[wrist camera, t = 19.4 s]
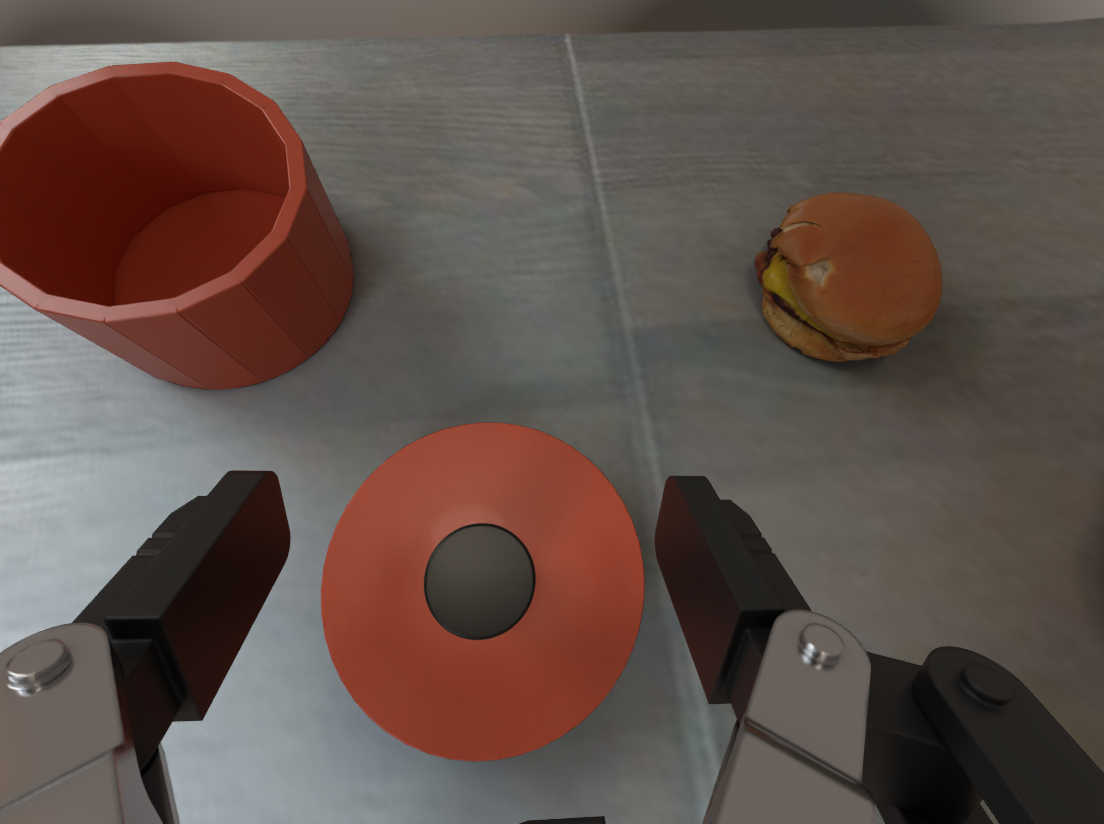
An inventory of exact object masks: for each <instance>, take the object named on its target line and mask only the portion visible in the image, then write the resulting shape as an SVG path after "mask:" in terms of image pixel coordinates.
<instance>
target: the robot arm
mask: <svg viewBox="0 0 1104 824" xmlns="http://www.w3.org/2000/svg"><path fill="white" fill-rule="evenodd" d="M761 535H762V534H761V532H760V531H759V529H758V528H757V526H756V525H755V523H754V522H753V520H752V518H751V517H750V515H748V514H747V513H746V512H745V511H743V510H742V509H741V508H740V507H738V506H737V505H736V504H735V503H733V502H732V501H731V500H720V499H719V497H718V495H717V494H716V492H715V490H714V489H713V487H712V485H711V484H710V482H709V480H708V479H707V478H706V477H705V476H669V477H668V478H667V480H666V483H665V488H664V492H663V497H662V502H661V507H660V512H659V517H658V521H657V526H656V532H655V551H656V557H657V561H658V564H659V567H660V569H661V572H662V575H663V578H664V581H665V583H666V586H667V589H668V592H669V594H670V597H671V600H672V603H673V606H674V608H675V611H676V614H677V617H678V619H679V622H680V625H681V628H682V631H683V633H684V636H685V639H686V642H687V644H688V647H689V650H690V653H691V656H692V658H693V661H694V664H695V667H696V669H697V672H698V675H699V678H700V681H701V683H702V686H703V689H704V692H705V694H706V697H707V700H708V703H709V704H728V703H731V705H732V707H733V710H734V712H735V715H736V717H737V719H736V722H735V725H734V727H733V730H732V733H731V736H730V740H729V743H728V746H727V749H726V752H725V755H724V758H723V761H722V764H721V767H720V770H719V774H718V777H717V780H716V783H715V786H714V789H713V792H712V795H711V798H710V801H709V804H708V808H707V811H706V814H705V817H704V820H703V823H702V824H875V804H876V806H877V808H878V810H879V812H880V814H881V816H882V818H883V820H884V822H885V824H993V823H992V821H991V820H990V818H989V817H988V815H987V814H986V812H985V811H984V809H983V808H982V806H981V805H980V802H981V801H982V800H984V801H985V803H986V804H987V806H988V807H989V809H990V810H991V812H992V813H993V815H994V816H995V818H996V819H997V821H998V822H999V824H1104V773H1103V772H1102V771H1101V770H1100V768H1099V767H1098V766H1097V765H1096V764H1095V763H1094V762H1093V761H1092V760H1091V758H1090V757H1089V756H1088V755H1087V754H1086V753H1085V752H1084V751H1083V749H1082V748H1081V747H1080V746H1079V745H1078V744H1077V743H1076V742H1075V740H1074V739H1073V738H1072V737H1071V736H1070V735H1069V734H1068V733H1067V732H1066V730H1065V729H1064V728H1063V727H1062V726H1061V725H1060V724H1059V723H1058V721H1057V720H1056V719H1055V718H1054V717H1053V716H1052V715H1051V714H1050V713H1049V711H1048V710H1047V709H1046V708H1045V707H1044V706H1043V705H1042V704H1041V702H1040V701H1039V700H1038V699H1037V698H1036V697H1035V696H1034V695H1033V694H1032V692H1031V691H1030V690H1029V689H1028V688H1027V687H1026V686H1025V685H1024V684H1023V683H1022V682H1021V681H1020V680H1019V679H1018V678H1016V677H1015V676H1014V675H1013V674H1012V673H1010V672H1009V671H1008V670H1006V669H1005V668H1004V667H1002V666H1000V665H999V664H997V663H996V662H994V661H992V660H990V659H988V658H986V657H985V656H982V655H980V654H978V653H975V652H973V651H970V650H967V649H963V648H958V647H950V646H947V647H939V648H936V649H934V650H933V651H931V653H930V654H929V655H928V657H927V658H926V660H925V662H924V663H923V665H922V666H920V665H916V664H912V663H909V662H905V661H901V660H897V659H893V658H889V657H885V656H881V655H877V654H873V653H870V652H867V651H866V650H865V649H864V647H863V646H862V644H861V643H860V642H859V641H858V639H857V638H856V637H855V636H854V635H853V634H852V633H851V632H850V631H849V630H847V629H846V628H845V627H843V626H842V625H841V624H839V623H837V622H836V621H834V620H832V619H830V618H828V617H826V616H824V615H821V614H819V613H815V612H812V611H811V609H810V608H809V606H808V605H807V603H806V601H805V600H804V598H803V597H802V595H801V594H800V592H799V591H798V589H797V588H796V586H795V585H794V583H793V581H792V580H791V578H790V577H789V575H788V574H787V572H786V571H785V569H784V568H783V566H782V565H781V563H780V561H779V560H778V558H777V557H776V555H775V554H774V553H772V551H771V550H772V549H771V548H770V546H769V545H768V543H767V542H766V540H765V538H762V536H761ZM289 549H290V529H289V524H288V520H287V515H286V511H285V506H284V502H283V497H282V493H281V488H280V484H279V480H278V477H277V475H276V474H275V473H274V472H273V471H229V472H228V473H226V474H225V475H224V476H223V478H222V479H221V480H220V481H219V482H218V484H217V485H216V486H215V487H214V488H213V489H212V491H211V492H210V493H209V494H208V495H207V496H197V497H196V498H194V499H193V500H191V501H190V502H188V503H186V504H185V505H183V506H182V507H180V508H179V509H177V510H175V511H174V512H172V513H171V514H170V515H169V516H168V517H167V518H166V519H165V520H164V522H163V523H162V524H161V525H160V526H159V527H158V528H157V529H156V530H155V532H154V533H153V534H152V538H148V539H147V540H146V542H145V543H144V544H143V545H142V546H141V547H140V548H139V549H138V550H137V554H136V556H132V557H131V558H130V559H129V560H128V561H127V563H126V564H125V565H124V566H123V567H122V568H121V569H120V570H119V571H118V572H117V574H116V575H115V576H114V577H113V578H112V579H111V580H110V581H109V582H108V584H107V585H106V586H105V587H104V588H103V589H102V590H101V591H100V592H99V593H98V595H97V596H96V597H95V598H94V599H93V600H92V601H91V602H90V603H89V605H88V606H87V607H86V608H85V609H84V610H83V611H82V612H81V613H80V614H79V616H78V617H77V618H76V619H75V620H74V621H73V622H72V623H70V624H64V625H59V626H56V627H52V628H49V629H46V630H43V631H40V632H38V633H35V634H33V635H31V636H28V637H26V638H24V639H23V640H21V641H19V642H17V643H15V644H13V645H12V646H10V647H9V648H7V649H5V650H4V651H3V652H1V653H0V824H180V821H179V816H178V812H177V807H176V803H175V798H174V793H173V789H172V784H171V780H170V775H169V770H168V766H167V761H166V757H165V752H164V749H163V747H162V744H161V740H162V739H163V737H164V735H165V734H166V732H167V730H168V728H169V727H170V725H171V723H172V722H176V721H202V720H203V718H204V716H205V715H206V713H207V711H208V709H209V707H210V705H211V703H212V701H213V699H214V697H215V696H216V694H217V692H218V690H219V688H220V686H221V684H222V682H223V680H224V678H225V677H226V675H227V673H228V671H229V669H230V667H231V665H232V663H233V661H234V659H235V658H236V656H237V654H238V652H239V650H240V648H241V646H242V644H243V642H244V640H245V639H246V637H247V635H248V633H249V631H250V629H251V627H252V625H253V623H254V621H255V620H256V618H257V616H258V614H259V612H260V610H261V608H262V606H263V604H264V602H265V601H266V599H267V597H268V595H269V593H270V591H271V589H272V587H273V585H274V583H275V581H276V580H277V578H278V576H279V574H280V572H281V570H282V568H283V566H284V564H285V562H286V560H287V557H288V553H289ZM520 824H605V817H604V816H599V817H582V818H565V819H548V820H531V821H526V822H523V823H520Z"/></svg>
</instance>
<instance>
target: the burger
mask: <svg viewBox="0 0 1104 824" xmlns="http://www.w3.org/2000/svg"><path fill="white" fill-rule="evenodd" d="M771 237H772V239H771V240H768V242H767V244H768V250H767V251H766V252H764V251H761V252H759V253H758V254H757V256H756V258H755V268H756V269H757V278H758V281H759V283H760V285H761V287H762V294H763V300H762V305H761V306H762V313H763V315H764V317H765V319H766V321H767V323H768V324H769V325H770V327H771V328H772V329H773V331H774V332H775V333H776V334H777V335H778V336H779V337H780V338H781V339H782V340H784V341H785V342H786V343H787V344H788V345H789V346H790V347H797V348H798V349H799V350H800V351H802V353H803V354H805V355H809V356H811V357H813V358H817V359H822V360H828V361H833V362H845V361H849V360H856V361H857V360H862V359H868V358H881V357H882V356H890V355H892V354H895V353H896V352H898V351H899V350H901V349H902V348H903V347H904V346H906V345H907V344H908V343H909V341H910V338H911V337H912V336H913V335H915V334H917V333H918V332H920V331H921V330H922V329H923V328H924V327H925V326H926V325H927V324H928V323H929V322H930V321H931V320H932V318H933V316H934V314H935V312H936V310H937V308H938V306H939V303H940V298H941V294H942V274H941V266H940V262H939V259H938V256H937V253H936V250H935V248H934V246H933V244H932V242H931V239H930V238H929V236H928V235H927V233H926V232H925V230H924V229H923V228H922V226H921V225H920V223H919V222H918V220H916V219H915V218H914V217H913V216H912V215H911V214H910V213H908V212H907V211H906V210H905V209H904V208H902V207H900V206H898V205H896V204H894V203H892V202H890V201H888V200H885V199H881V198H878V197H874V196H867V195H860V194H854V193H835V192H834V193H828V194H823V195H818V196H814V197H811V198H809V199H806V200H803V201H800V202H798V203H797V204H795V205H793V206H791V207H790V208H789V209H788V210H787V216H786V217H785V219H784V220H783V222H782V223H781V225H780V227H778V228H777V229H774V230H773V231H772V232H771Z"/></svg>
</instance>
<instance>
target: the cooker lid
mask: <svg viewBox="0 0 1104 824" xmlns="http://www.w3.org/2000/svg"><path fill="white" fill-rule="evenodd" d="M644 587H645V581H644V567H643V559H642V553H641V548H640V543H639V539H638V536H637V533H636V530H635V527H634V524H633V521H632V519H631V517H630V515H629V513H628V511H627V508H626V506H625V504H624V502H623V501H622V499H621V498H620V496H619V494H618V493H617V491H616V490H615V488H614V487H613V485H612V484H611V483H610V482H609V480H608V479H607V478H606V477H605V475H604V474H603V473H602V472H601V471H600V470H599V469H598V468H597V467H596V466H595V465H594V464H593V463H592V462H591V461H590V460H589V459H588V458H586V457H585V456H584V455H582V454H581V453H580V452H578V451H577V450H576V449H574V448H573V447H571V446H570V445H568V444H566V443H564V442H562V441H561V440H559V439H557V438H555V437H553V436H550V435H548V434H545V433H543V432H541V431H538V430H535V429H531V428H527V427H523V426H519V425H512V424H505V423H474V424H466V425H460V426H455V427H451V428H447V429H443V430H440V431H438V432H435V433H432V434H430V435H427V436H425V437H422V438H421V439H419V440H417V441H415V442H413V443H411V444H409V445H407V446H405V447H404V448H403V449H401V450H400V451H398V452H397V453H395V454H394V455H393V456H391V457H390V458H388V459H387V460H386V461H385V462H384V463H383V464H382V465H380V466H379V467H378V468H377V469H376V470H375V471H374V472H373V473H372V474H371V475H370V476H369V477H368V478H367V480H366V481H365V482H364V483H363V484H362V485H361V486H360V488H359V489H358V490H357V492H356V493H355V495H354V496H353V498H352V499H351V500H350V502H349V503H348V505H347V506H346V508H345V510H344V512H343V514H342V516H341V518H340V520H339V522H338V524H337V526H336V528H335V531H334V534H333V536H332V539H331V542H330V544H329V547H328V551H327V556H326V560H325V564H324V568H323V577H322V587H321V614H322V621H323V627H324V634H325V639H326V642H327V645H328V649H329V652H330V655H331V659H332V661H333V663H334V666H335V668H336V670H337V672H338V674H339V677H340V679H341V681H342V682H343V684H344V685H345V687H346V689H347V690H348V692H349V693H350V695H351V696H352V698H353V699H354V701H355V702H356V703H357V704H358V705H359V706H360V708H361V709H362V710H363V711H364V712H365V713H366V714H367V716H368V717H369V718H370V719H371V720H373V721H374V722H375V723H376V724H377V725H379V726H380V727H381V728H382V729H383V730H384V731H386V732H387V733H388V734H390V735H392V736H393V737H395V738H397V739H398V740H400V741H401V742H403V743H405V744H406V745H409V746H411V747H413V748H416V749H418V750H420V751H423V752H425V753H427V754H431V755H435V756H439V757H443V758H447V759H452V760H463V761H490V760H500V759H504V758H509V757H514V756H519V755H522V754H525V753H527V752H530V751H533V750H535V749H538V748H541V747H543V746H545V745H547V744H549V743H550V742H552V741H554V740H556V739H558V738H560V737H562V736H563V735H564V734H566V733H567V732H569V731H570V730H571V729H573V728H574V727H575V726H577V725H578V724H580V723H581V722H582V721H583V720H584V719H585V718H586V717H587V716H588V715H589V714H590V713H591V712H592V711H593V710H594V709H595V708H597V707H598V705H599V704H600V703H601V702H602V700H603V699H604V698H605V697H606V695H607V694H608V693H609V692H610V690H611V689H612V688H613V686H614V684H615V683H616V681H617V679H618V678H619V676H620V675H621V673H622V671H623V670H624V668H625V665H626V663H627V661H628V659H629V656H630V654H631V652H632V650H633V647H634V644H635V641H636V637H637V634H638V631H639V628H640V622H641V617H642V611H643V605H644Z"/></svg>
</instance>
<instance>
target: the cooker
mask: <svg viewBox="0 0 1104 824" xmlns="http://www.w3.org/2000/svg"><path fill="white" fill-rule="evenodd" d="M353 279H354V276H353V263H352V258H351V254H350V251H349V244H348V240H347V238H346V236H345V234H344V232H343V229H342V227H341V225H340V223H339V221H338V218H337V216H336V214H335V212H334V210H333V207H332V205H331V203H330V201H329V199H328V197H327V194H326V192H325V190H324V188H323V186H322V183H321V181H320V179H319V177H318V175H317V173H316V170H315V168H314V166H313V164H312V162H311V159H310V157H309V155H308V153H307V151H306V149H305V146H304V144H303V142H302V140H301V139H300V137H299V136H298V134H297V133H296V131H295V130H294V128H293V127H292V125H291V124H290V123H289V121H288V120H287V118H286V117H285V115H284V114H283V112H282V111H281V109H280V108H279V106H278V105H277V104H276V102H274V101H273V100H272V99H270V98H268V97H267V96H265V95H263V94H262V93H260V92H258V91H257V90H255V89H254V88H252V87H250V86H249V85H247V84H245V83H244V82H242V81H241V80H239V79H237V78H236V77H234V76H232V75H230V74H228V73H223V72H219V71H214V70H210V69H205V68H201V67H196V66H192V65H187V64H182V63H178V62H160V63H144V64H129V65H113V66H107V67H104V68H101V69H98V70H95V71H93V72H90V73H87V74H84V75H81V76H78V77H75V78H72V79H69V80H66V81H64V82H61V83H58V84H55V85H52V86H50V87H48V88H47V89H45V90H44V91H42V92H41V93H40V94H38V95H37V96H35V97H34V98H33V99H31V100H30V101H29V102H27V103H26V104H24V105H23V106H22V107H20V108H19V109H17V110H16V111H15V112H13V113H12V114H10V115H9V116H8V117H6V118H5V119H3V120H2V121H1V122H0V286H1V287H3V288H4V289H6V290H7V291H8V292H10V293H11V294H13V295H14V296H16V297H17V298H19V299H20V300H22V301H23V302H24V303H26V304H27V305H29V306H30V307H32V308H33V309H35V310H36V311H38V312H40V313H42V314H44V315H45V316H47V317H49V318H51V319H52V320H54V321H56V322H58V323H60V324H61V325H63V326H65V327H67V328H68V329H70V330H72V331H74V332H76V333H77V334H79V335H81V336H83V337H84V338H86V339H88V340H90V341H92V342H93V343H95V344H97V345H99V346H100V347H102V348H104V349H106V350H107V351H109V352H111V353H113V354H115V355H116V356H118V357H120V358H122V359H123V360H125V361H127V362H129V363H131V364H132V365H134V366H136V367H138V368H139V369H141V370H143V371H145V372H147V373H148V374H150V375H152V376H154V377H155V378H158V379H162V380H167V381H169V382H172V383H175V384H179V385H183V386H187V387H192V388H200V389H231V388H240V387H245V386H249V385H254V384H258V383H261V382H264V381H267V380H270V379H273V378H275V377H277V376H279V375H282V374H284V373H286V372H288V371H290V370H291V369H293V368H295V367H296V366H298V365H300V364H301V363H303V362H304V361H305V360H307V359H308V358H309V357H311V356H312V355H313V354H314V353H316V352H317V351H318V350H319V349H320V348H321V347H322V346H323V345H324V344H325V343H326V342H327V341H328V339H329V338H330V337H331V335H332V334H333V333H334V332H335V330H336V329H337V327H338V325H339V324H340V322H341V320H342V319H343V317H344V315H345V312H346V310H347V307H348V305H349V302H350V298H351V294H352V288H353Z"/></svg>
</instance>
